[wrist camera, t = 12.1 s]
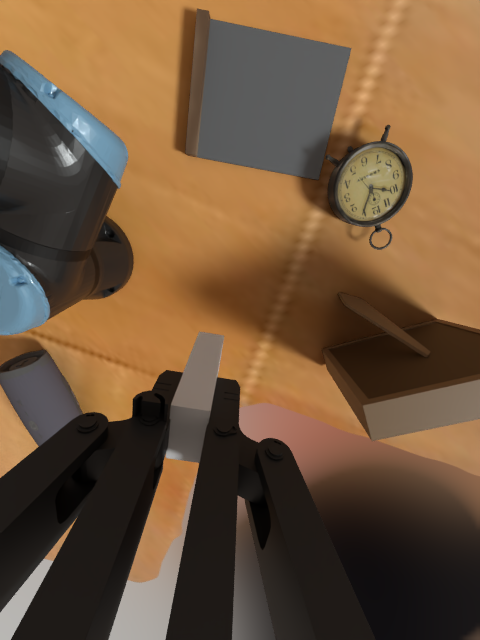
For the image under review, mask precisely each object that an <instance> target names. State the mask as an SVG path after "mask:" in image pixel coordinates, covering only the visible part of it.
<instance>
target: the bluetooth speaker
mask: <svg viewBox="0 0 480 640" xmlns="http://www.w3.org/2000/svg"><path fill="white" fill-rule="evenodd" d="M0 384H1V386H2V388H3V390H4V391H5V393H6V395H7V397H8V399H9V400H10V402H11V404H12V406H13V407H14V409H15V411H16V412H17V414H18V416H19V417H20V419H21V421H22V422H23V424H24V425H25V427H26V429H27V430H28V432H29V433H30V435H31V436H32V437H33V439H34V440H35V442H36V443H37V445H38V446H40V445H42V444H43V443H44V442H45V441H47V440H48V439H49V438H50V437H51V436H53V435H54V434H55V433H56V432H58V431H59V430H60V429H61V428H63V427H64V426H65V425H66V424H67V423H69V422H70V421H71V420H72V419H74V418H76V417H77V416H79V415H82V414H83V413H82V411H81V409H80V406H79V403H78V401H77V399H76V397H75V395H74V393H73V391H72V390H71V388H70V386H69V384H68V382H67V381H66V379H65V378H64V376H63V375H62V373H61V372H60V370H59V369H58V367H57V365H56V364H55V362H54V360H53V359H52V358H51V356H50V355H49V353H48V352H47V351H46V350H40V351H34V352H28V353H25V354H22V355H20V356H17V357H15V358H13V359H11V360H9V361H7V362H5V363H4V364H2V365H1V366H0Z"/></svg>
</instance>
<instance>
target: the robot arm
mask: <svg viewBox="0 0 480 640" xmlns="http://www.w3.org/2000/svg"><path fill="white" fill-rule="evenodd" d="M127 161H128V152H127V148H126V146H125V144H124V142H123V141H122V140H121V139H120V138H119V137H118V136H117V135H116V134H115V133H114V132H113V131H111V130H110V129H109V128H108V127H107V126H105V125H104V124H103V123H102V122H100V121H99V120H98V119H97V118H96V117H94V116H93V115H92V114H91V113H89V112H88V111H87V110H86V109H84V108H83V107H82V106H81V105H79V104H78V103H77V102H76V101H74V100H73V99H72V98H71V97H69V96H68V95H67V94H66V93H64V92H63V91H62V90H60V89H59V88H57V87H56V86H55V85H54V84H53V83H51V82H50V81H49V80H48V79H46V78H45V77H44V76H43V75H42V74H40V73H39V72H38V71H37V70H35V69H34V68H33V67H31V66H30V65H29V64H28V63H26V62H25V61H24V60H22V59H21V58H20V57H18V56H17V55H16V54H14V53H13V52H11V51H9V50H5V51H3V53H2V54H1V55H0V335H13V334H19V333H22V332H24V331H27V330H29V329H32V328H34V327H38V326H40V325H42V324H44V322H46V321H47V320H48V319H50V318H52V317H53V316H55V315H57V314H58V313H60V312H62V311H64V310H65V309H67V308H69V307H71V306H72V305H74V304H76V303H77V302H79V301H81V300H87V299H101V298H105V297H108V296H110V295H112V294H114V293H116V292H117V291H119V290H120V289H121V288H123V287H124V286H125V284H126V283H127V282H128V280H129V278H130V276H131V274H132V270H133V252H132V248H131V245H130V243H129V240H128V238H127V237H126V235H125V233H124V232H123V231H122V229H121V228H120V227H119V226H118V225H117V224H116V223H115V222H114V221H113V220H111V219H110V218H109V217H107V216H106V215H107V212H108V210H109V207H110V205H111V203H112V200H113V198H114V195H115V193H116V190H117V188H118V189H120V187H121V183H120V181H121V178H122V175H123V172H124V170H125V167H126V164H127ZM223 340H224V336H223V335H217V334H211V333H205V332H199V334H198V336H197V339H196V341H195V344H194V346H193V349H192V352H191V354H190V357H189V359H188V362H187V365H186V367H185V370H184V372H183V373H182V372H175V371H169V370H166V371H165V372H163V373H162V374H161V375H159V377H158V379H157V381H156V383H155V385H154V387H153V389H152V391H145V392H142V393H140V394H138V395H136V396H135V397H134V398H133V413H132V418H130V419H127V420H122V421H113V422H108V419H107V417H106V416H105V415H103V414H101V413H96V412H91V413H85V414H82V415H79V416H77V417H76V418H74V419H72V420H71V421H70V422H69V423H67V424H66V425H65V426H64V427H63V428H61V429H60V430H59V431H58V432H56V433H55V434H54V435H53V436H51V437H50V438H49V439H48V440H47V441H45V442H44V443H43V444H42V445H40V446H39V447H38V448H37V449H36V450H34V451H33V452H32V453H31V454H29V455H28V456H27V457H26V458H24V459H23V460H22V461H21V462H20V463H18V464H17V465H16V466H15V467H13V468H12V469H11V470H10V471H9V472H7V473H6V474H5V475H4V476H2V477H1V478H0V612H1V611H2V609H3V608H4V607H5V606H6V605H7V603H8V602H9V601H10V600H11V598H12V597H13V596H14V595H15V593H16V592H17V591H18V590H19V588H20V587H21V586H22V585H23V584H24V582H25V581H26V580H27V579H28V577H29V576H30V575H31V574H32V572H33V571H34V570H35V569H36V567H37V566H38V565H39V564H40V562H41V561H42V560H43V559H44V558H45V556H46V555H47V554H48V553H49V551H50V550H51V549H52V548H53V546H54V545H55V544H56V543H57V542H58V540H59V539H60V538H61V537H62V535H63V534H64V533H65V532H66V530H67V529H68V528H69V527H70V526H71V524H72V523H73V522H74V521H75V519H76V518H77V519H76V521H75V523H74V525H73V526H72V528H71V530H70V532H69V534H68V536H67V538H66V539H65V541H64V543H63V545H62V547H61V549H60V550H59V552H58V554H57V556H56V558H55V560H54V561H53V563H52V565H51V567H50V569H49V571H48V572H47V574H46V576H45V578H44V580H43V582H42V583H41V585H40V587H39V589H38V591H37V593H36V595H35V596H34V598H33V600H32V602H31V604H30V605H29V607H28V609H27V611H26V613H25V615H24V617H23V618H22V620H21V622H20V624H19V626H18V628H17V630H16V631H15V633H14V635H13V637H12V639H11V640H108V639H109V635H110V632H111V629H112V626H113V623H114V620H115V617H116V614H117V611H118V607H119V604H120V601H121V598H122V595H123V592H124V589H125V586H126V582H127V579H128V576H129V573H130V570H131V567H132V564H133V561H134V558H135V554H136V551H137V548H138V545H139V542H140V539H141V536H142V533H143V529H144V526H145V523H146V520H147V517H148V514H149V511H150V508H151V504H152V501H153V498H154V495H155V492H156V489H157V486H158V483H159V479H160V476H161V473H162V470H163V460H164V457H165V454H166V458H170V459H177V460H184V461H191V462H198V463H199V468H198V473H197V479H196V484H195V489H194V494H193V499H192V505H191V510H190V516H189V520H188V526H187V531H186V536H185V541H184V546H183V552H182V557H181V562H180V567H179V572H178V578H177V583H176V588H175V593H174V598H173V603H172V609H171V614H170V619H169V624H168V629H167V635H166V640H232V622H233V597H234V571H235V545H236V520H237V495H238V496H240V497H242V498H244V499H245V504H246V509H247V513H248V518H249V522H250V526H251V531H252V535H253V540H254V544H255V548H256V553H257V558H258V562H259V567H260V571H261V575H262V580H263V584H264V589H265V593H266V598H267V602H268V607H269V611H270V616H271V620H272V624H273V629H274V634H275V638H276V640H375V638H374V635H373V633H372V631H371V629H370V626H369V625H368V622H367V620H366V618H365V615H364V613H363V611H362V609H361V606H360V604H359V602H358V600H357V597H356V595H355V593H354V591H353V588H352V586H351V584H350V582H349V579H348V577H347V575H346V573H345V571H344V568H343V566H342V564H341V562H340V559H339V557H338V555H337V552H336V550H335V548H334V546H333V544H332V541H331V539H330V537H329V535H328V532H327V530H326V528H325V526H324V524H323V521H322V519H321V517H320V514H319V512H318V510H317V508H316V505H315V503H314V501H313V499H312V497H311V494H310V492H309V490H308V488H307V485H306V483H305V481H304V479H303V476H302V474H301V472H300V470H299V467H298V465H297V463H296V461H295V459H294V456H293V454H292V452H291V450H290V449H289V447H288V446H287V445H286V444H285V443H283V442H282V441H280V440H278V439H273V438H267V439H263V440H262V441H261V442H259V443H258V442H256V441H253V440H251V439H250V438H248V437H246V436H245V435H244V434H243V433H242V431H241V430H240V428H239V401H240V386H239V384H238V382H237V381H236V380H230V379H224V378H218V371H219V365H220V359H221V353H222V347H223ZM166 451H167V452H166Z"/></svg>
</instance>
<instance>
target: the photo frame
mask: <svg viewBox="0 0 480 640" xmlns="http://www.w3.org/2000/svg"><path fill="white" fill-rule="evenodd" d="M338 295H339V297H340V299H341V301H342V302H343V304H344V305H345V306H346V307H348V308H349V309H351V310H353V311H354V312H356V313H357V314H359V315H360V316H362V317H363V318H365V319H367V320H368V321H370V322H371V323H373V324H374V325H376V326H377V327H379V328H381V329H382V330H384V331H385V333H381V334H377V335H373V336H370V337H366V338H362V339H358V340H354V341H350V342H346V343H342V344H338V345H335V346H331V347H327V348H323V349H322V352H323V356H324V360H325V363H326V367H327V370H328V372H329V373H330V375H331V376H332V378H333V380H334V381H335V383H336V384H337V386H338V388H339V389H340V391H341V392H342V394H343V396H344V397H345V399H346V400H347V402H348V404H349V405H350V407H351V408H352V410H353V412H354V413H355V415H356V416H357V418H358V420H359V421H360V423H361V424H362V426H363V428H364V429H365V431H366V432H367V434H368V436H369V437H370V439H371V440H372V441H375V440H380V439H384V438H389V437H394V436H399V435H404V434H409V433H414V432H418V431H423V430H428V429H433V428H438V427H443V426H448V425H453V424H457V423H462V422H467V421H472V420H477V419H480V330H479V329H475V328H471V327H467V326H463V325H459V324H455V323H452V322H448V321H444V320H440V319H435V320H432V321H428V322H424V323H420V324H416V325H412V326H408V327H404V328H401V329H400V328H399V327H398V326H397V325H395V324H394V323H393V322H391V321H390V320H389V319H387V318H386V317H385V316H384V315H382V314H381V313H380V312H378V311H377V310H376V309H374V308H373V307H372V306H371V305H369V304H368V303H367V302H365V301H364V300H363V299H361V298H359V297H355V296H351V295H348V294H344V293H340V292H339V293H338Z"/></svg>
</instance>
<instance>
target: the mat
mask: <svg viewBox="0 0 480 640" xmlns="http://www.w3.org/2000/svg"><path fill="white" fill-rule="evenodd" d="M350 51H351V48H347V47H342V46H337V45H333V44H328V43H323V42H318V41H314V40H309V39H304V38H299V37H294V36H290V35H285V34H280V33H275V32H271V31H266V30H261V29H256V28H251V27H247V26H242V25H237V24H232V23H227V22H223V21H218V20H213V19H210V29H209V39H208V49H207V60H206V70H205V81H204V91H203V101H202V112H201V122H200V132H199V143H198V153H197V157H199V158H204V159H209V160H214V161H220V162H225V163H230V164H236V165H241V166H246V167H251V168H257V169H262V170H267V171H273V172H278V173H283V174H288V175H294V176H299V177H304V178H309V179H315V180H319V176H320V172H321V168H322V164H323V160H324V156H325V152H326V148H327V144H328V140H329V136H330V132H331V128H332V124H333V120H334V116H335V112H336V108H337V104H338V100H339V96H340V92H341V88H342V83H343V79H344V75H345V71H346V67H347V63H348V59H349V55H350ZM193 157H195V156H193Z"/></svg>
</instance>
